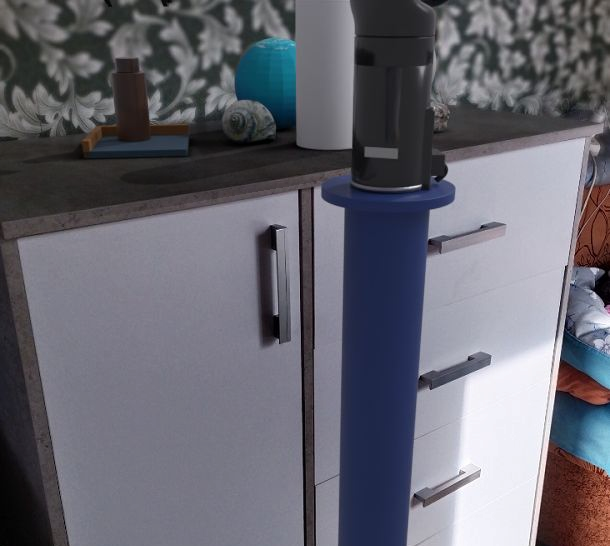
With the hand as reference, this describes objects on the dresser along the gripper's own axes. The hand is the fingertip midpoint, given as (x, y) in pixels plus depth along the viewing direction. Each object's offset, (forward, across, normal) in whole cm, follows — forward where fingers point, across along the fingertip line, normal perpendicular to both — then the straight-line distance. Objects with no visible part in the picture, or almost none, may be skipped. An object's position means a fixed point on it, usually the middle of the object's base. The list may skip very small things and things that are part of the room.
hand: (136, 2), depth 113 cm
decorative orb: (0, +17, +29) cm, 34 cm away
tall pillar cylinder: (+11, +28, +19) cm, 35 cm away
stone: (0, +41, +29) cm, 50 cm away
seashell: (+10, +14, +19) cm, 26 cm away
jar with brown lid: (+14, -2, +14) cm, 20 cm away
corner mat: (+16, -1, +13) cm, 21 cm away
